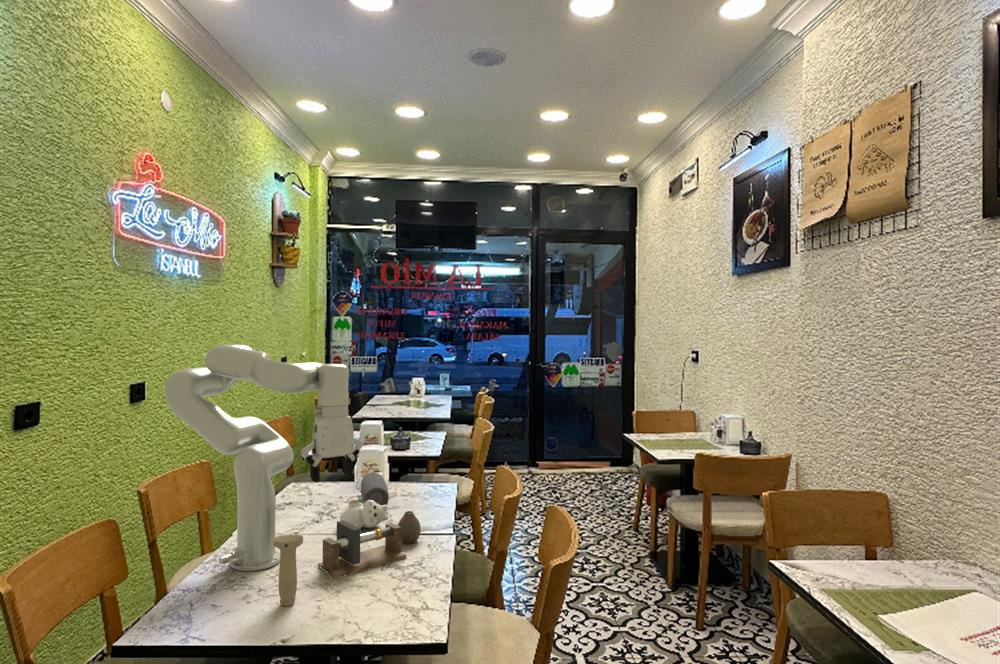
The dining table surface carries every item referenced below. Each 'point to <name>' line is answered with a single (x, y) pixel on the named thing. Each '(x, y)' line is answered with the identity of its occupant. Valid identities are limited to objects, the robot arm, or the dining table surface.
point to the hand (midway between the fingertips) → (332, 478)
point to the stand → (362, 555)
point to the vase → (409, 528)
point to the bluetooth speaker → (374, 489)
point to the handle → (287, 567)
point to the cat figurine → (364, 513)
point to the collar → (349, 542)
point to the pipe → (368, 536)
